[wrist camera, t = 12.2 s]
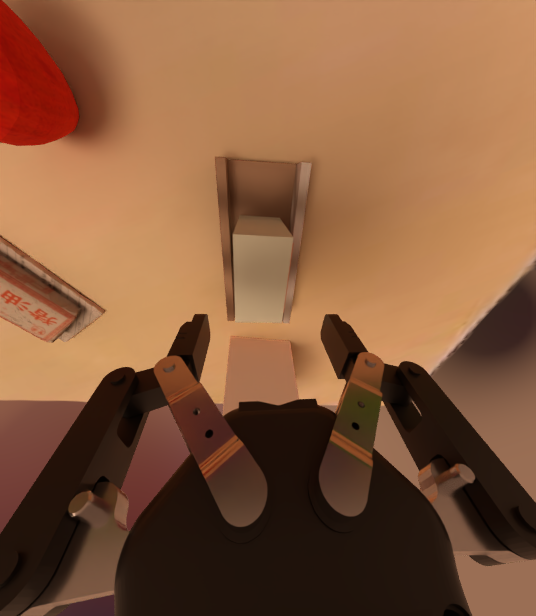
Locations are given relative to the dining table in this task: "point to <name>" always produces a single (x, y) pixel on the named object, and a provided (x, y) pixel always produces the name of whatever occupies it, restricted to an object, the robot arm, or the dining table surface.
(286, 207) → the wooden tray
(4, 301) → the packaged product
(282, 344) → the milk
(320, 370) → the dining table surface
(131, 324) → the dining table surface
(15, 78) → the apple
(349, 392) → the robot arm
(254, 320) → the carton
